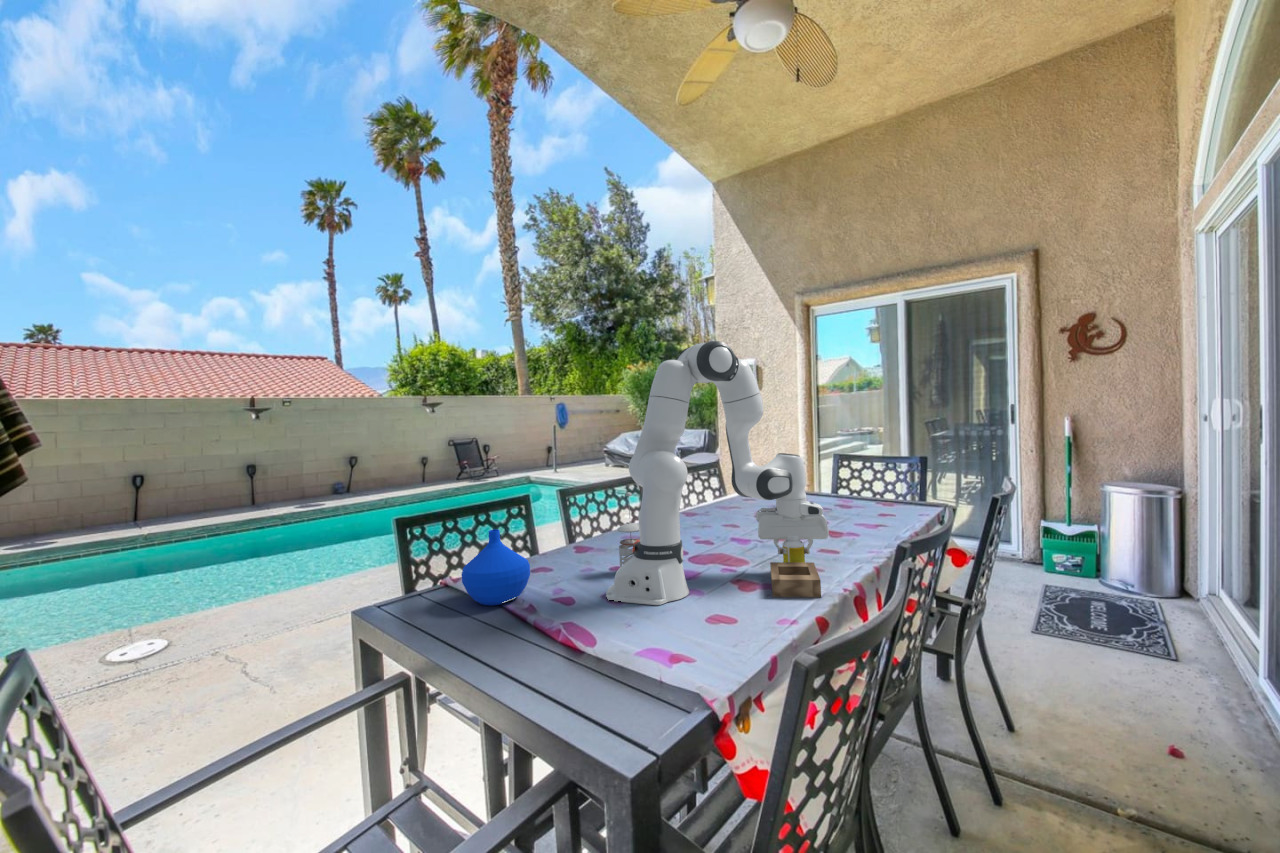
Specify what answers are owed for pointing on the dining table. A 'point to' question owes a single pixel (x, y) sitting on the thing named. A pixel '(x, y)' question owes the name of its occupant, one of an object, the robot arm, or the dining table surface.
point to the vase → (495, 573)
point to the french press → (627, 542)
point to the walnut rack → (795, 579)
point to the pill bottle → (793, 550)
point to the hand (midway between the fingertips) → (793, 553)
